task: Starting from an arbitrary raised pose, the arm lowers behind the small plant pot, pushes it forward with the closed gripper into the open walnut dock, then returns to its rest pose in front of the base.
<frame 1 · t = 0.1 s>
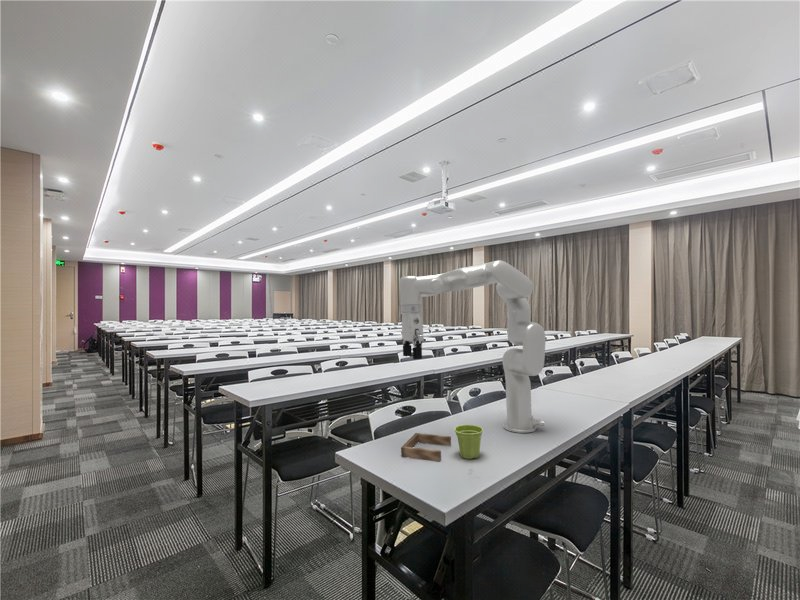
hand: (412, 357, 131), 31 cm above the table, tool pointing down, fingers open, 9 cm apart
plant pot: (469, 456, 119), on the table
dock: (427, 450, 124), on the table
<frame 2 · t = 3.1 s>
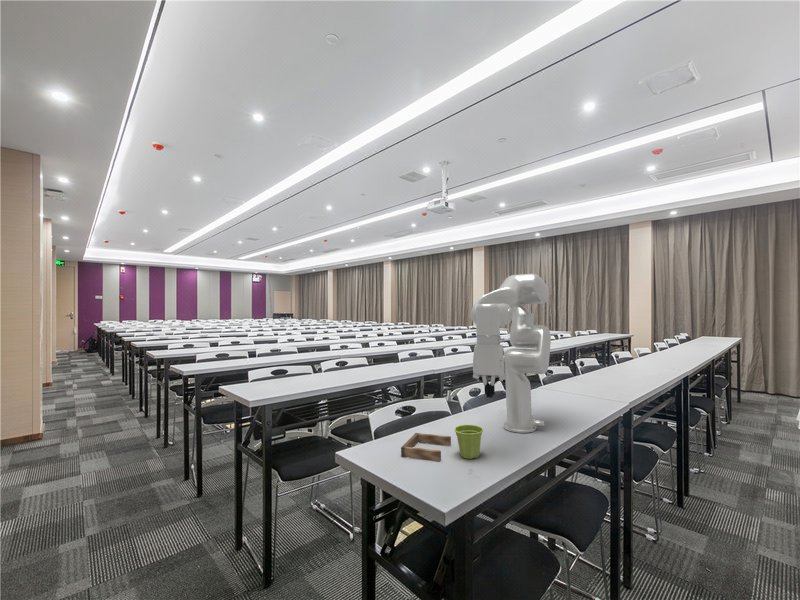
hand: (489, 396, 119), 19 cm above the table, tool pointing down, fingers closed
nothing on the table moved.
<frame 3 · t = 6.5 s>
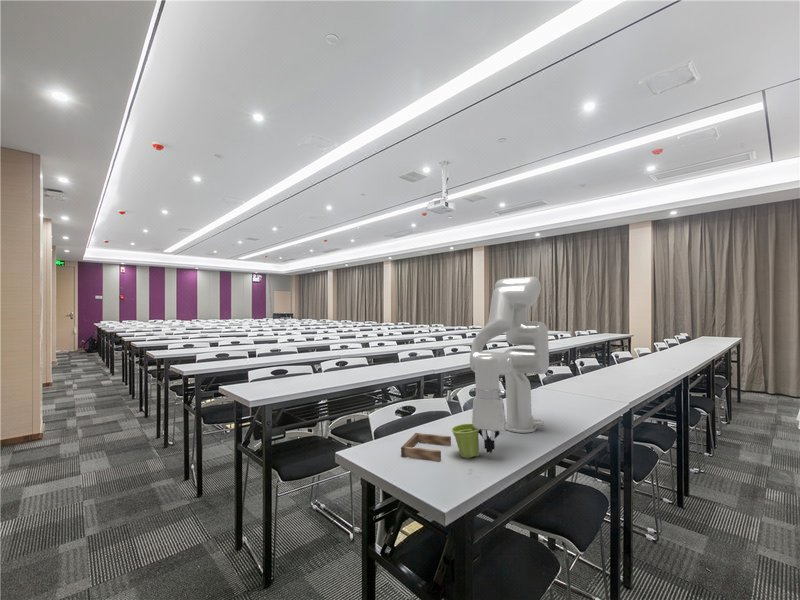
hand: (489, 451, 116), 2 cm above the table, tool pointing down, fingers closed
plant pot: (469, 455, 119), on the table, touching gripper
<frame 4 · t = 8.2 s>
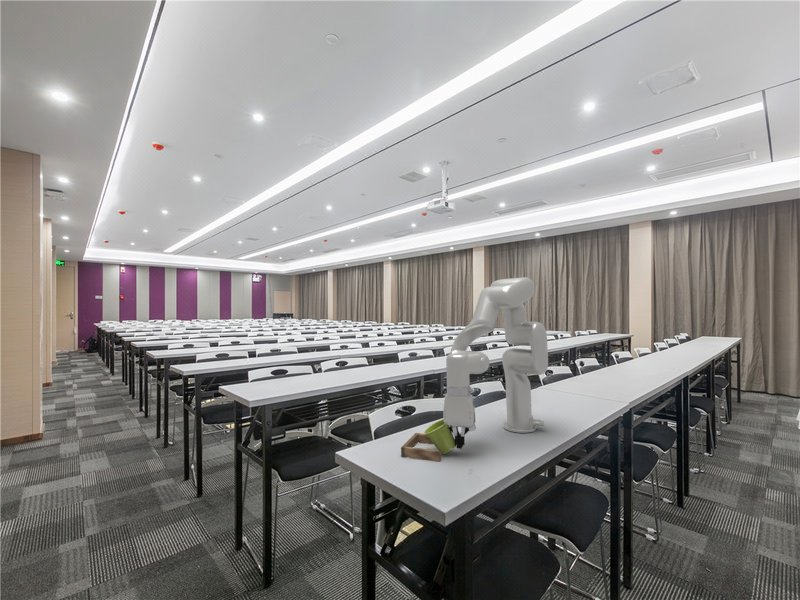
hand: (459, 447, 119), 3 cm above the table, tool pointing down, fingers closed
plant pot: (448, 449, 121), point 1 cm above the table, touching gripper
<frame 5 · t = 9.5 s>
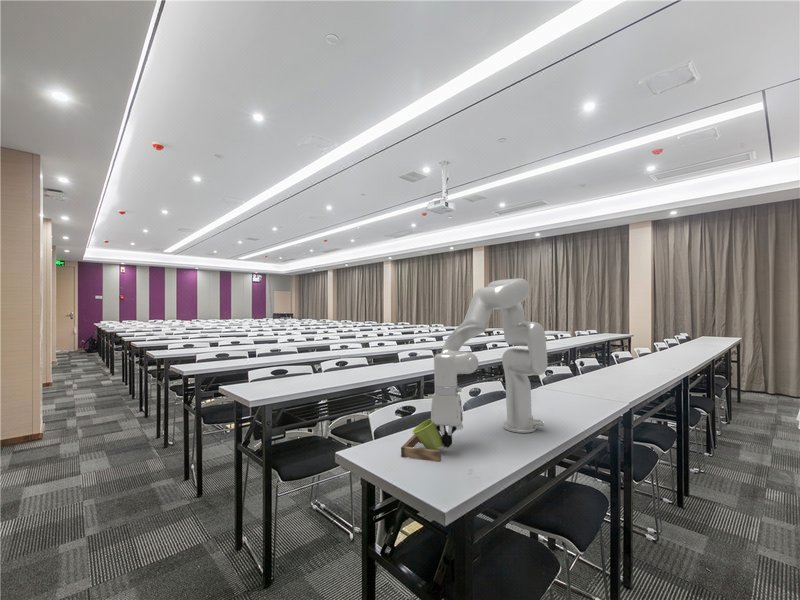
hand: (447, 445, 121), 3 cm above the table, tool pointing down, fingers closed
plant pot: (436, 448, 122), point 1 cm above the table, touching gripper
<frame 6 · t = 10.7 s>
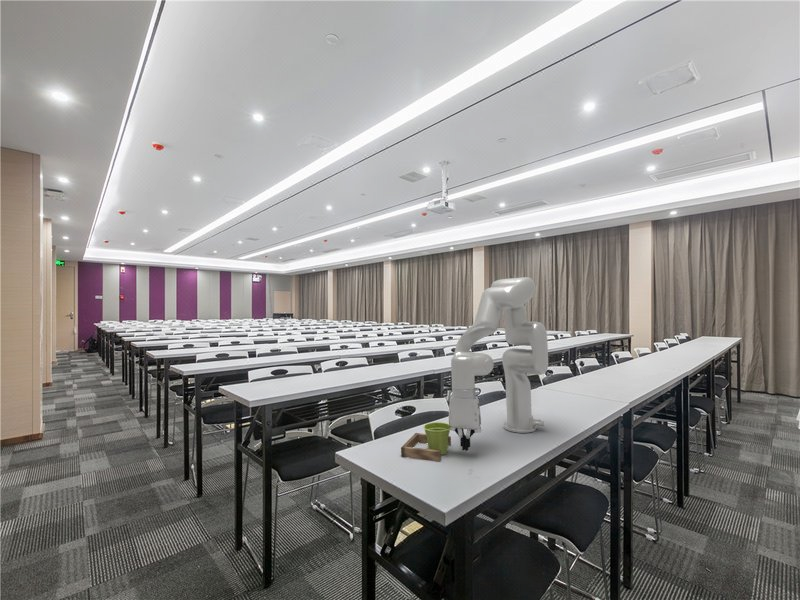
hand: (465, 449, 119), 2 cm above the table, tool pointing down, fingers closed
plant pot: (437, 452, 122), on the table
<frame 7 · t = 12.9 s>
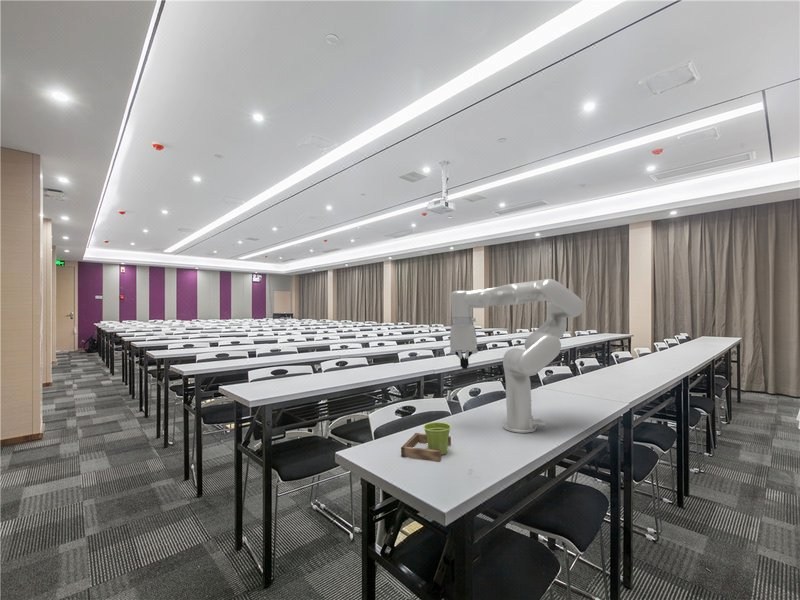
hand: (464, 368, 142), 25 cm above the table, tool pointing down, fingers closed
nothing on the table moved.
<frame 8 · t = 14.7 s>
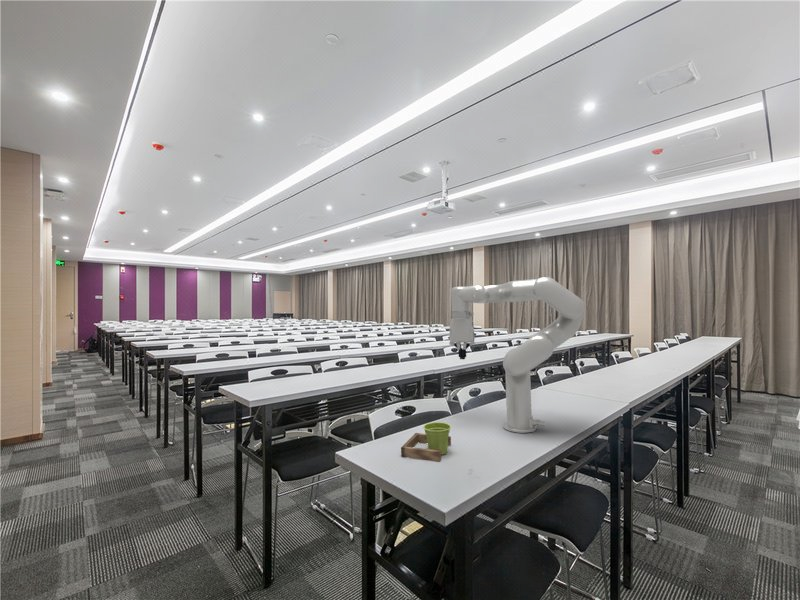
hand: (462, 358, 153), 27 cm above the table, tool pointing down, fingers closed
nothing on the table moved.
at the end: plant pot inside the target area on the dock (4.9 cm from its centre), point 0.0 cm above the dock's base; plant pot tilted 0°; plant pot moved 10.6 cm from its start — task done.
